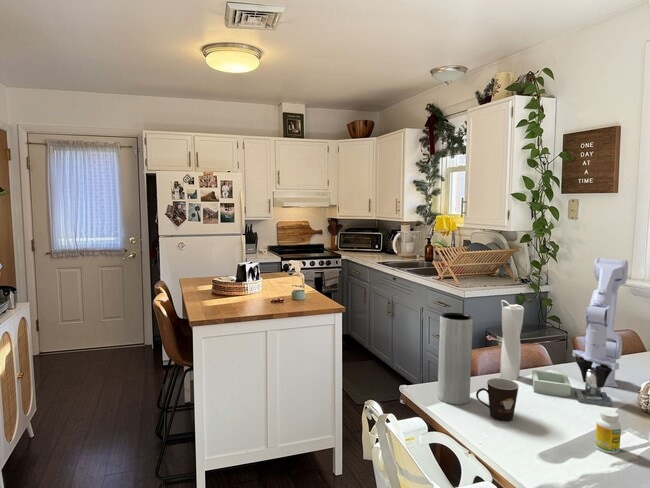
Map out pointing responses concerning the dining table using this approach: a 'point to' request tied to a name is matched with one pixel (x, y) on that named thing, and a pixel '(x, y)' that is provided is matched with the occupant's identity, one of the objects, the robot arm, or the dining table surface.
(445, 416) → the dining table surface
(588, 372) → the shiny metal cylinder
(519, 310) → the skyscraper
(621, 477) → the dining table surface
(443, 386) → the vase
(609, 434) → the supplement bottle
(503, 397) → the coffee mug
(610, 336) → the robot arm
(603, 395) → the grey square frame
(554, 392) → the bin
